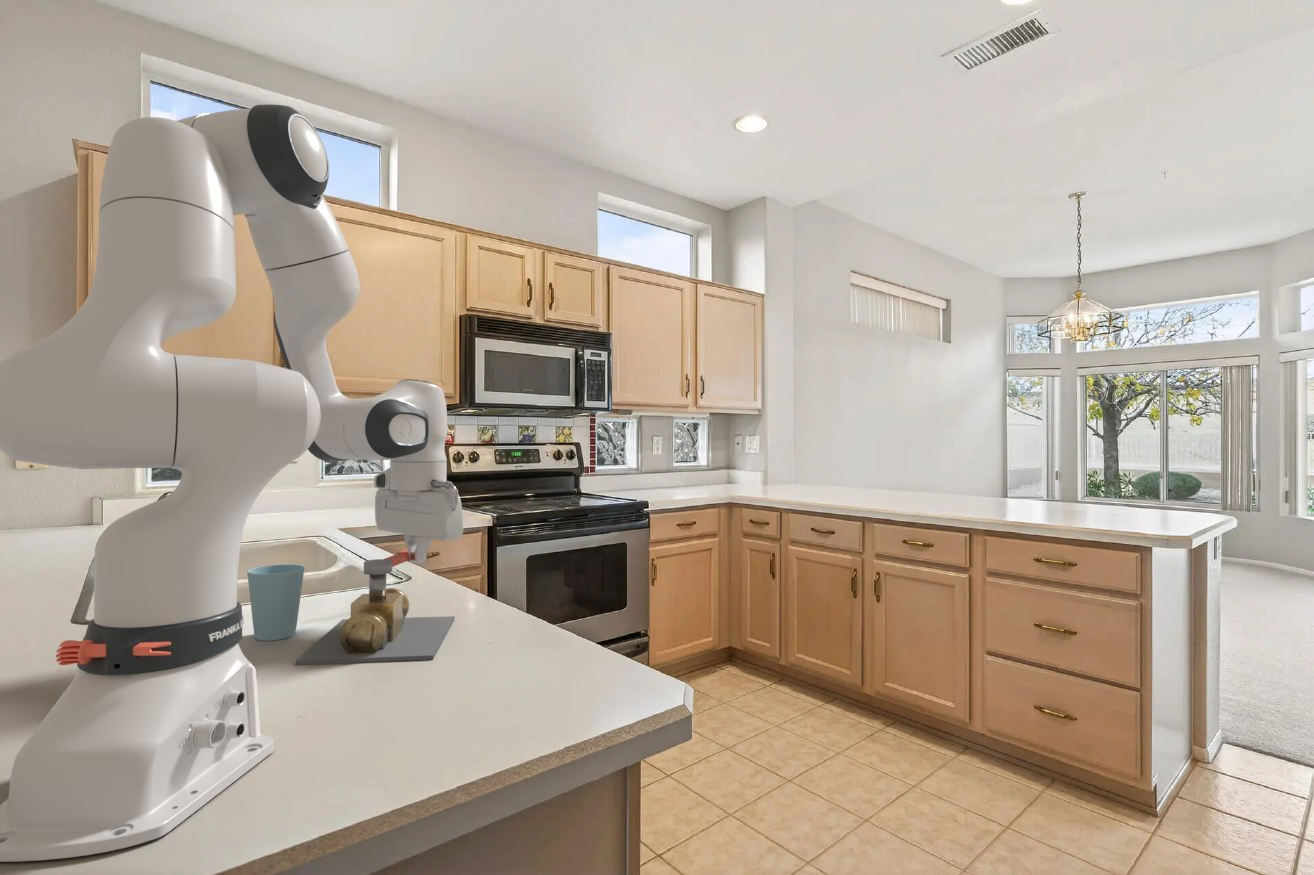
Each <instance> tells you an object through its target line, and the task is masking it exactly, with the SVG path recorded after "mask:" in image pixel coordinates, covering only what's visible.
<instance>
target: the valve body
mask: <svg viewBox="0 0 1314 875" xmlns="http://www.w3.org/2000/svg"><path fill="white" fill-rule="evenodd" d="M368 579H369V580H368V582H369V583H368V586H369V587H368V588H369V589H368V593H362V594H361V595H359V597H357V598H356V599H355V600H354V601H352V602H351V603H350V617H349V618H347V619H348V620H347V621H346V622H345V623H344V624H343V626H342V628H341V630H340V643H341V645H342V647H343V648H344V650H345V651H346V652H348V653H349V654H357V653H375V652H376V651H377V650H378V649H384V648H385V646H386V645H387V644H388V643H389V642H393V641H394V639H395V638H396V637H397V636H398V634H399V633H400V632H401V631H402V625H403V624H404V618H406V616H407V614H409V609H410V602H409V598H408V596H407V594H405V593H404V592H403V591H402V590H400V589H397V588H394V587H389V588H387V574H381V575H368Z"/></svg>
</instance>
